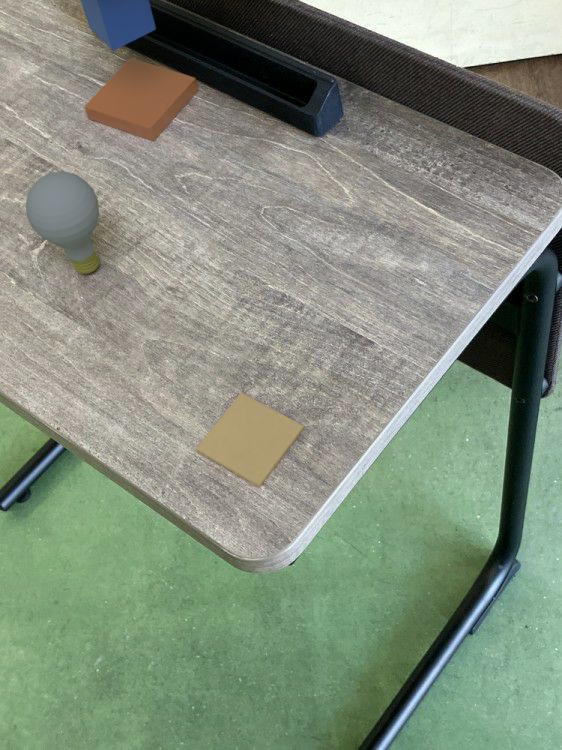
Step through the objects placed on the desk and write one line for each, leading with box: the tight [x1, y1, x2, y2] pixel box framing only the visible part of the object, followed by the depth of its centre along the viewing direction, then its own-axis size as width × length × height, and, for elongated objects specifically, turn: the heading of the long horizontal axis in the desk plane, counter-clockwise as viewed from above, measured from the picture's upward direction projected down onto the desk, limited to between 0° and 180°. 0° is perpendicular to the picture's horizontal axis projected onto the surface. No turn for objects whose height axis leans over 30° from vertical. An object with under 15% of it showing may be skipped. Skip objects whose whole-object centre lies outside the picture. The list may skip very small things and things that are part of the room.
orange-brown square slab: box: [84, 57, 199, 142], centre depth 90 cm, size 8×8×2 cm
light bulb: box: [25, 171, 100, 275], centre depth 75 cm, size 5×6×10 cm
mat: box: [195, 392, 305, 488], centre depth 68 cm, size 6×6×1 cm
